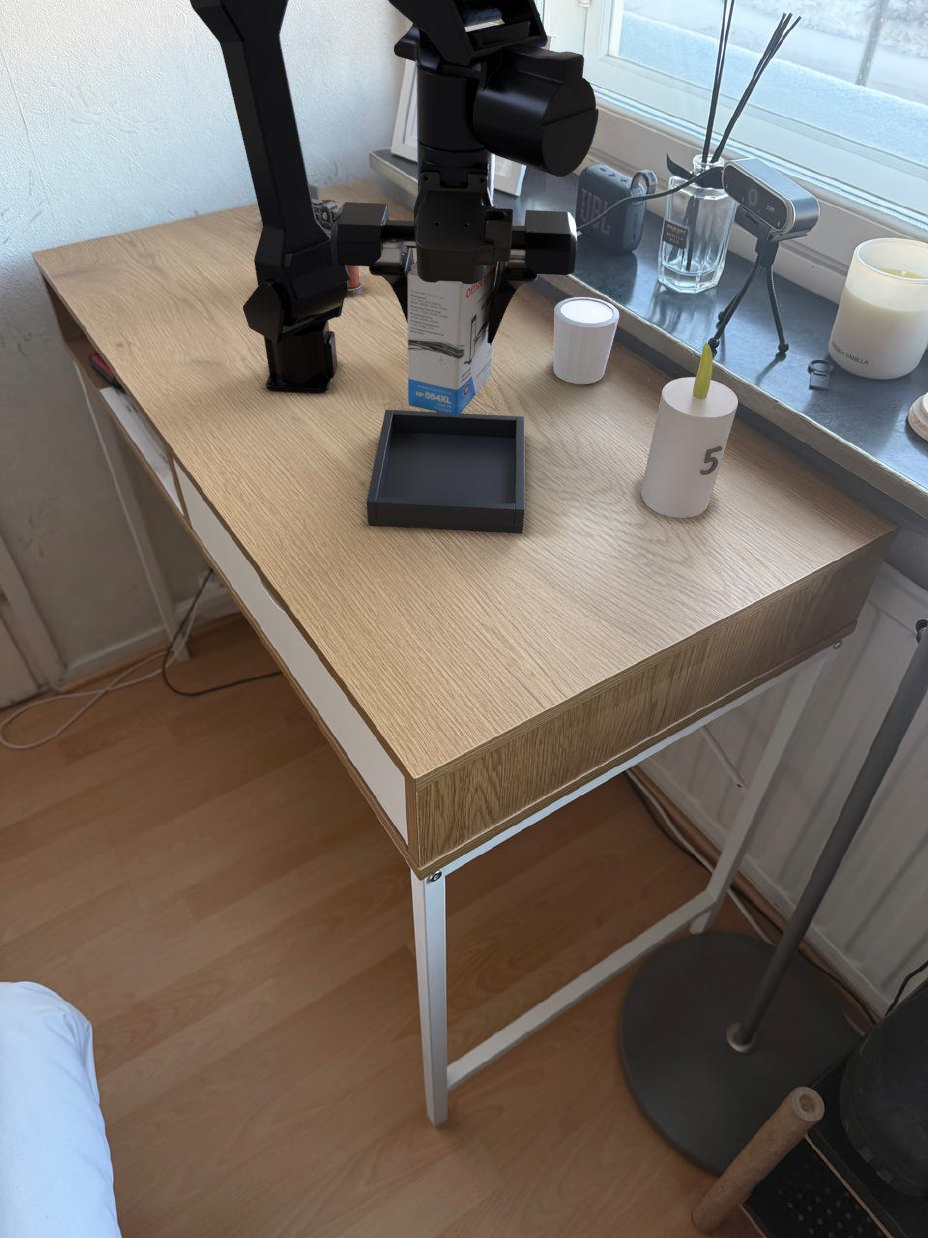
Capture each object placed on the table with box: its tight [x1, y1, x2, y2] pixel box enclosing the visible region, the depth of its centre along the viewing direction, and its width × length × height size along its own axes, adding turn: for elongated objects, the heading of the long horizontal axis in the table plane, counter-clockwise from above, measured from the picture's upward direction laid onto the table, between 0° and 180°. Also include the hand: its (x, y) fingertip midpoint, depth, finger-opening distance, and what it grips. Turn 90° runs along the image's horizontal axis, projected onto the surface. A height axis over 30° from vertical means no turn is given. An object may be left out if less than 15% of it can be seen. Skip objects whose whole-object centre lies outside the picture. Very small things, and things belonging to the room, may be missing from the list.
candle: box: [640, 342, 739, 519], centre depth 75 cm, size 6×6×15 cm
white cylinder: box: [552, 296, 620, 385], centre depth 93 cm, size 7×7×7 cm
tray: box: [366, 409, 525, 534], centre depth 80 cm, size 14×15×3 cm
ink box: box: [407, 261, 498, 417], centre depth 73 cm, size 9×5×12 cm, turn 157°
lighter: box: [312, 199, 362, 297], centre depth 105 cm, size 8×3×10 cm, turn 58°
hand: (452, 339), depth 74 cm, fingers closed on ink box, 6 cm apart
